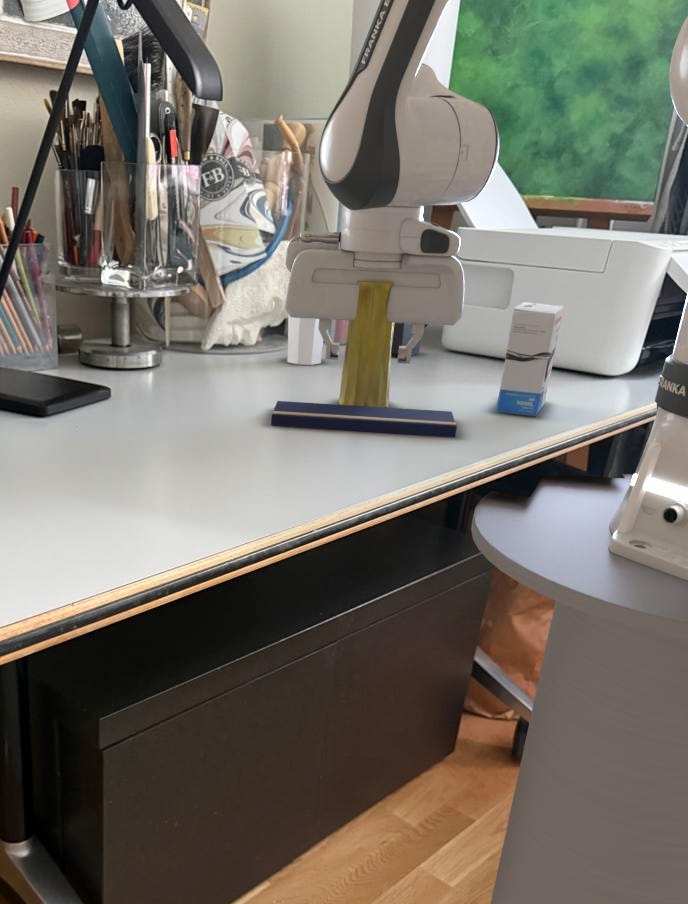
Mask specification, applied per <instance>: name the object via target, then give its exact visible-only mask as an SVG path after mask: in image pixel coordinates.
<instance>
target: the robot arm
mask: <svg viewBox="0 0 688 904" xmlns="http://www.w3.org/2000/svg"><path fill="white" fill-rule="evenodd" d="M451 1H452V0H380V2H379V4H378V6H377V9H376V12H375V14H374V17H373V20H372V22H371V24H370V26H369V29H368V32H367V34H366V37H365V40H364V42H363V44H362V47H361V49H360V52H359V55H358V57H357V61H356V62H355V64H354V67H353V70H352V72H351V74H350V77H349V79H348V81H347V83H346V85H345V87H344V89H343V91H342V93H341V94H340V96H339V98H338V100H337V101H336V103H335V105H334V107H333V109H331V112H330V114H329V116H328V118H327V120H326V122H325V124H324V127H323V130H322V132H321V136H320V140H319V145H318V155H317V156H318V157H317V158H318V165H319V166H318V167H319V171H320V174H321V177H322V179H323V181H324V183H325V184H326V186H327V188H328V189H329V191H330V193H331V194H332V195H333V196H334V198H335V199H336V200H337V201H338V202H339V203H340V204H341V205H342V213H341V226H340V232H336V231H332V232H331V231H324V232H313V231H301V232H300V234H298V235H295V236H293V237H292V238H291V239H290V240H289V241H288V243H287V245H286V250H285V265H286V266H285V267H286V269H287V270H288V272H289V273H290V274H289V278H288V280H289V283H288V288H287V295H286V294H285V305H284V306H285V307H284V309H285V311H286V313H287V315H288V314H289V315H290V317H292V318H309V319H319V328H318V329H319V331H320V334H321V336H322V338H323V343H324V344H325V345H326V346H325V360H329V361H330V360H331V361H334V360H335V361H338V360H339V350H340V342H334V341H333V339H332V338H331V335H330V333H329V330H331V326H332V321H349V320H350V321H354V319H355V316H356V314H357V304H358V296H359V285H357V282H358V281H364V282H378V283H390V282H394V286H392V288H391V291H390V297H389V303H388V311H387V317H388V321H389V322H391V323H410V324H412V325H411V332H412V334H414V335H413V336H412V338H411V339H410V341H409V342H408V343H407V345H406V346H399V351H398V352H399V355H398V356H397V364H405V365H410V364H411V360H412V355H411V353H412V349H413V348H414V347H415V346H416V344H417V343H418V341H419V340H420V339H421V340H422V337H423V336H424V333H425V328H426V327H425V326H426V325H434V326H435V325H436V326H456V325H457V323H459V321H460V320H461V319H462V317H463V314H464V313H463V312H464V304H465V303H464V302H465V274H464V273H465V272H464V269H463V266H462V264H461V261H460V260H459V259H458V258H456V255H457V254H458V253H459V251H460V247H461V242H462V241H461V237H460V236H459V234H458V233H456V232H455V231H452V230H450V229H447V228H444V227H442V226H440V225H439V224H438V223H436V222H432V221H430V222H428V221H426V220H424V216H423V215H424V207H426V206H453V205H459V204H462V203H467V202H468V203H469V202H471V201H472V200H474V199H475V198H477V197H478V196H479V195H481V193H482V192H483V190H484V189H485V188H486V187H487V185H488V184H489V182H490V181H491V180H492V179H491V178H492V177H493V174H494V172H495V169H496V167H497V163H498V159H499V153H500V134H499V128H498V124H497V122H496V119H495V116H494V115H493V113H492V111H491V110H490V109H489V108H488V107H487V106H486V105H485V104H483V103H480V102H476V101H474V100H472V99H469V98H466V97H465V96H463V95H460V94H458V93H456V92H454V91H452V90H451V89H450V88H448V87H446V86H445V85H444V84H442V83H441V82H440V81H439V79H438V77H437V75H436V72H435V71H434V69H433V68H432V67H431V66H429V65H428V64H426V63H423V61H424V58H425V56H426V54H427V51H428V50H429V47H430V44H431V42H432V40H433V38H434V35H435V33H436V31H437V28H438V26H439V24H440V21H441V19H442V16H443V15H444V12H445V11H446V8H447V7H448V5H449V4H450V2H451ZM668 81H669V83H668V84H669V92H670V97H671V102H672V105H673V108H674V109H675V111H676V113H677V116H678V117H679V118H680V120H681V121H682V123H684V125H686V126H687V127H688V15H687V16H686V18H685V20H684V21H683V24H682V26H681V28H680V30H679V32H678V35H677V37H676V39H675V43H674V46H673V50H672V54H671V59H670V64H669V78H668ZM298 240H299V241H298ZM686 294H687V295H686V299H685V303H684V306H683V311H682V315H681V319H680V322H679V327H678V331H677V335H676V339H675V343H674V347H673V350H672V351H673V352H672V354H670V355H669V356H668V357H666V358H665V361H664V365H663V368H662V371H661V375H659V378H658V382H657V385H658V386H657V390H656V393H655V398H654V402H655V403H656V413H655V416H654V420H653V423H652V427H651V430H650V433H649V435H648V437H647V438H648V439H647V441H646V443H645V447H644V450H643V451H642V454H641V457H640V460H639V462H638V465H637V467H636V470H635V472H634V473H633V478H632V482H631V484H630V486H629V488H628V490H627V492H626V495H625V497H624V499H623V501H622V502H621V504H620V506H619V508H618V510H617V511H616V513H615V515H614V516H613V518H612V519H611V521H610V523H609V528H610V531H611V533H612V535H613V536H612V538H611V541H610V543H609V546H608V549H609V551H611V552H612V553H614V554H617V555H619V556H622V557H625V558H627V559H630V560H633V561H635V562H638V563H641V564H643V565H646V566H649V567H652V568H654V569H657V570H660V571H662V572H665V573H668V574H670V575H673V576H676V577H679V578H681V579H684V580H687V581H688V293H686Z"/></svg>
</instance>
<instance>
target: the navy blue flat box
mask: <svg viewBox="0 0 688 904" xmlns="http://www.w3.org/2000/svg"><path fill="white" fill-rule="evenodd" d="M270 425H271V426H273V427H275V426H276V427H291V428H304V429H305V428H306V429H321V430H337V431H338V430H339V431H350V432H351V431H352V432H353V431H354V432H367V433H368V432H369V433H383V434H400V435H415V436H430V437H431V436H432V437H446V438H456V436H457V428H458V424H457V422H456V419H455V417H454V414H453V412H452V411H451V410H449V411H448V410H433V409H432V410H431V409H418V408H401V407H387V408H386V407H369V406H353V405H339V404H337V403H336V404H335V403H318V402H303V401H302V402H301V401H288V400H287V401H285V400H277V402H276V403H275V406H274V409H273V410H272V412H271V421H270Z"/></svg>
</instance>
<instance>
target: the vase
mask: <svg viewBox="0 0 688 904" xmlns="http://www.w3.org/2000/svg"><path fill="white" fill-rule="evenodd" d="M357 285H359V296H358V304H357V314H356V316H355V319H354V321H350V320H348V324H347V325H348V326H347V331H346V332H347V334H346V341H345V342H346V343H345V350H344V358H343V363H342V371H341V379H340V391H339V397H338V401H337V403H338V404H337V405H353V406H369V407H386V408H389V406H390V389H391V387H390V385H391V367H392V366H391V365H392V355H391V347H392V341H393V333H394V323H391V322H389V321H388V317H387V311H388V303H389V297H390V291H391V288H392V286H394V282H390V283H378V282H364V281H358V282H357Z"/></svg>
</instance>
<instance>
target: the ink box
mask: <svg viewBox="0 0 688 904" xmlns="http://www.w3.org/2000/svg"><path fill="white" fill-rule="evenodd" d="M564 308H565V307H564V306H563V305H556V304H546V303H538V302H537V303H536V302H528V301H526V302H525V301H523V302H522V303H520V304H518V305H516V306H514V307H513V311H512V315H511V322H510V328H509V329H510V330H509V334H508V339H507V346H506V351H505V352H506V353H505V358H504V363H503V370H502V375H501V380H500V381H501V382H500V386H499V392H498V397H497V403H496V409H495V412H496V413H504V414H512V415H519V416H529V417H537V416H538V414H539V413H540V411H541V409H542V408H543V407H544V405H545V404H546V400H547V393H548V388H549V384H550V379H551V374H552V369H553V364H554V358H555V353H556V348H557V343H558V337H559V332H560V326H561V323H562V318H563V314H564V313H563V312H564Z"/></svg>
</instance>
